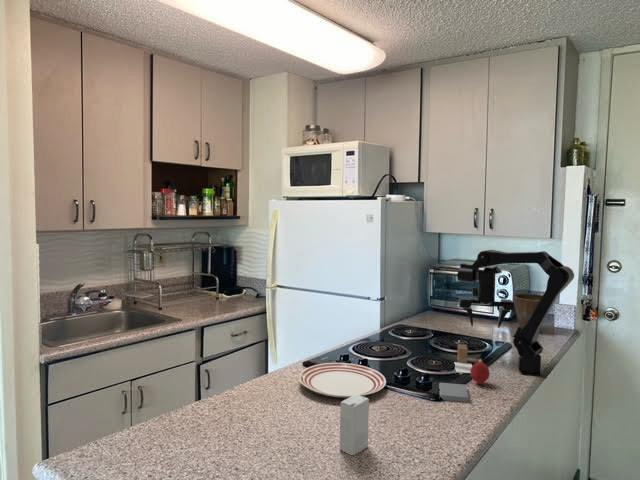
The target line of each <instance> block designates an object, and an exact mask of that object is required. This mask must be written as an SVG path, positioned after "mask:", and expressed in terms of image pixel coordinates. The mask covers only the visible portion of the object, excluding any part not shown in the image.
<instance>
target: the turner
mask: <svg viewBox="0 0 640 480" xmlns="http://www.w3.org/2000/svg"><path fill="white" fill-rule="evenodd" d="M468 350H469V349H468V345H467V344H459V343H458V344H457V357H456V358H457V359H456V360H457V362H456V361H454V362H453V365H454V364H455V367H454V371H455V370H456V372H455V374H456V373H459V374H458V375H462V374H463V373H470V371H471V368H472V366H473V365H472V363H469V362H468ZM470 374H471V373H470Z"/></svg>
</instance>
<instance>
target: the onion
mask: <svg viewBox="0 0 640 480" xmlns="http://www.w3.org/2000/svg"><path fill="white" fill-rule="evenodd" d="M470 373H471V375H470V376H471V379H472V380H473V381H475V383H476V384H477V385H482V384H484V383H485V382H486V381H488V380H489V378H490V374H491V373H490V370H489V367H488V366H487V365H486V364H485V363H484V362H483V360H482V359H478V361H477V362H476V363H474V364H473V365H472V368H471V371H470Z"/></svg>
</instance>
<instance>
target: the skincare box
mask: <svg viewBox="0 0 640 480" xmlns="http://www.w3.org/2000/svg"><path fill="white" fill-rule="evenodd" d="M339 409H340V411H339V413H340V415H339V418H340V419H339V451H340V450H342V451H345V452H347V453H349V454H351V455H354V456H356V455H357V454H359V453H360V452H362V451H363V450H365V449H366V448H368V447H369V416H370V415H369V414H370V413H369V412H370V399H369V398H368V397H366V396H359V395H353V396H351V397H349V398H345V399H344V400H342V401H341V402H340V408H339ZM342 451H341V452H342ZM358 452H359V453H358ZM356 453H357V454H356ZM355 454H356V455H355ZM351 455H350V456H351Z"/></svg>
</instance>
